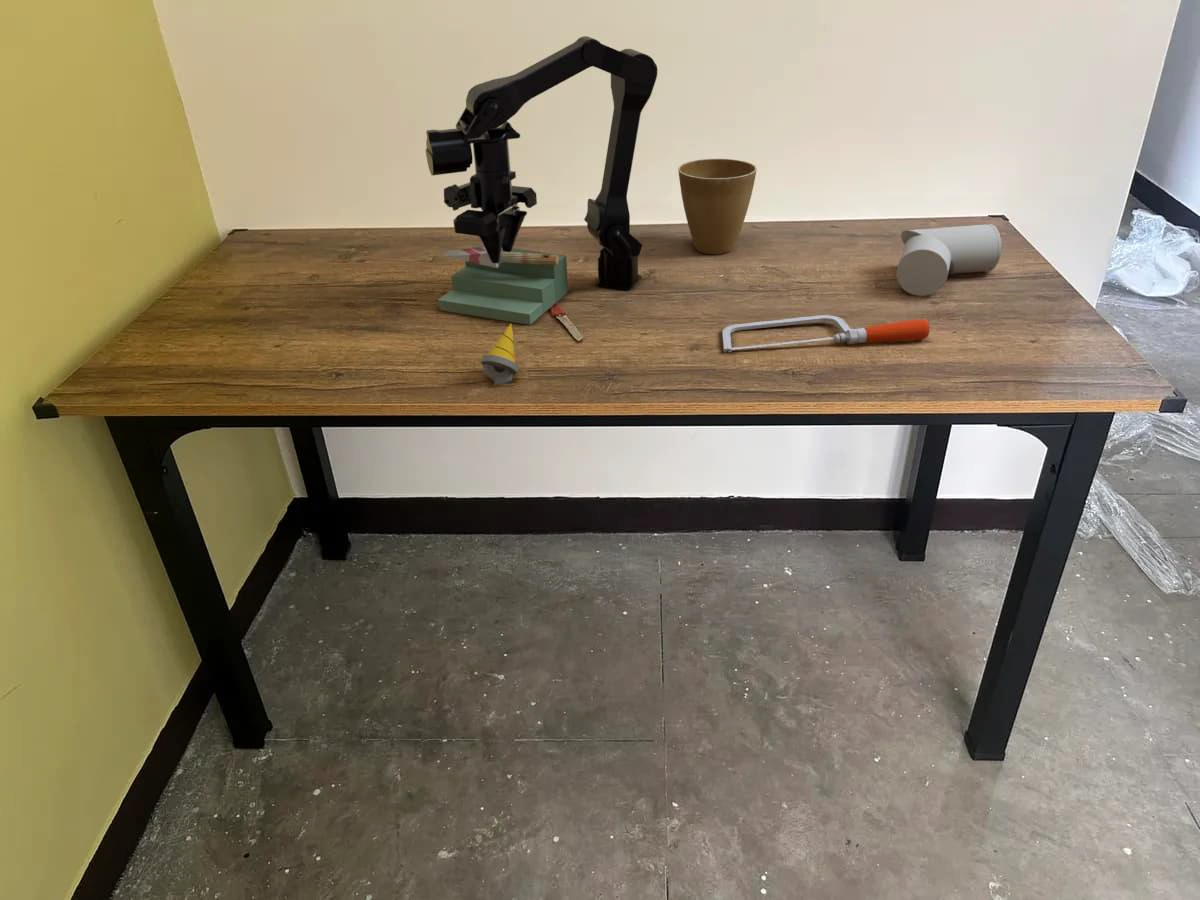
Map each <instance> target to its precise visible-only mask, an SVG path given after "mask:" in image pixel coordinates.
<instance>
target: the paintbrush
mask: <svg viewBox="0 0 1200 900" xmlns="http://www.w3.org/2000/svg"><path fill="white" fill-rule="evenodd" d="M443 257H445V258H450V259H454V260H459V261H463V262H465V261H467V262H472V263H476V264H481V265H485V266H490V267H495V268H498V267H499V265H500V264H501V262H508V263H524V264H541V265H543V264H548V265H555V266H557V265H558V255H545V254H532V253H517V252H501V254H500V258H499V262H498V263H492V262H491V259H490V257H489V255H488V253H487V251H486V248H485V247H479V248H473V247H470V248H469V247H468V248H460V249H450V250H447V252H446V253H444V255H443Z"/></svg>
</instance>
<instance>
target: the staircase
mask: <svg viewBox="0 0 1200 900" xmlns="http://www.w3.org/2000/svg"><path fill="white" fill-rule="evenodd" d="M479 247H485V246H484V244H483V243H481V244H480V243H477V244H476V245H474V246H472V248H479ZM501 252H503V249H502V248H501ZM511 252H517V253H532V254H545V255H558V265H557V266H555V265H548V264H543V265H541V264H524V263H508V262H501V264H500V265H499V267H498V268H495V267H490V266H485V265H481V264H476V263H472V262H467V261H464V262H465V263H464V264H465V266H464V267H462V268H461V269H460V270H458V271H457V272H455V273H454V274H452V275H451V285H452V289H451V290H450V291H448V292H447V293H446V294H444V295H443V296H441V297H440V298H438V299H437V304H438V310H439V311H442V312H449V313H454V314H460V315H467V316H473V317H480V318H484V319H491V320H496V321H504V322H510V323H516V324H522V325H526V326H527V325H528V326H531V325H532V324H533V323H534V322H536V321H537V320H538V319H539V318H540V317H541V316H542V315H544V314H545V313H546V312H547V311H548V310H550V309H551V308H552V307H553V306H554V305H555V304H556V303H558V301H560V300H561V299H562V298H563V297H564V296H565V295H567V294H568V293H569V285H568V283H569V282H568V266H567V264H568V263H567V255H565V254H558V253H550V252H544V251H543V252H542V251H534V250H527V249H520V248H514V247H513V248H512V250H511Z"/></svg>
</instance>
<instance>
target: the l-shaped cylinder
mask: <svg viewBox="0 0 1200 900" xmlns="http://www.w3.org/2000/svg"><path fill="white" fill-rule="evenodd" d="M900 238H901V241H902V243H903V244H904V246H903V249H902V252H901V255H900V259H899V260H898V261H899V262H898V264H897V267H896V273H895V274H896V279H897V283H898V284H899V286H900V288H902V289H903V290H904V291H905V292H907V293H908V294H910V295H912V296H918V297H925V296H931V295H933V294H935V293H936V292H938V291H939V290H940V289H941V288H942V287H944V285H945V284H946V282H947V279H948V276H949V275H954V274H965V273H966V274H968V273H969V274H970V273H980V272H981V273H982V272H991V271H992V270H994V269H996V267H997V266H998V263H999V262H1000V258H1001V254H1002V238H1001V234H1000V231H999V230H998V228H997V227H996V226H995V225H994V224H991V223H987V224H986V223H985V224H973V225H972V224H971V225H961V226H945V227H932V228H920V229H907V230H902V231H901V234H900Z"/></svg>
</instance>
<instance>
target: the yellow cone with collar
mask: <svg viewBox="0 0 1200 900" xmlns="http://www.w3.org/2000/svg"><path fill="white" fill-rule="evenodd" d="M513 333H514V332H513V324H512V323H510V324H509V325H508V326H507V327H506V329H505V330H504V332H503V333H502V334H501V336H500V337H499V338H498V340H497V341H496V342H495V344H494V345H493V346H492V347H491V349H490V350H489V352H488V353H487V354H484V355H483V356H482V359H481V363H480V364H481V365H482V368H481V372H482V373H484V375H486V376H487V377H488V378H490V379H491V380H492V381H493V386H497V385H502V384H506V383H510V382H512V380H513V376H514V375H515V374H516V373H517V371H518V367H519V366H518V364H517V363H516V357H515V345H514V337H513V336H514V335H513Z"/></svg>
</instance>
